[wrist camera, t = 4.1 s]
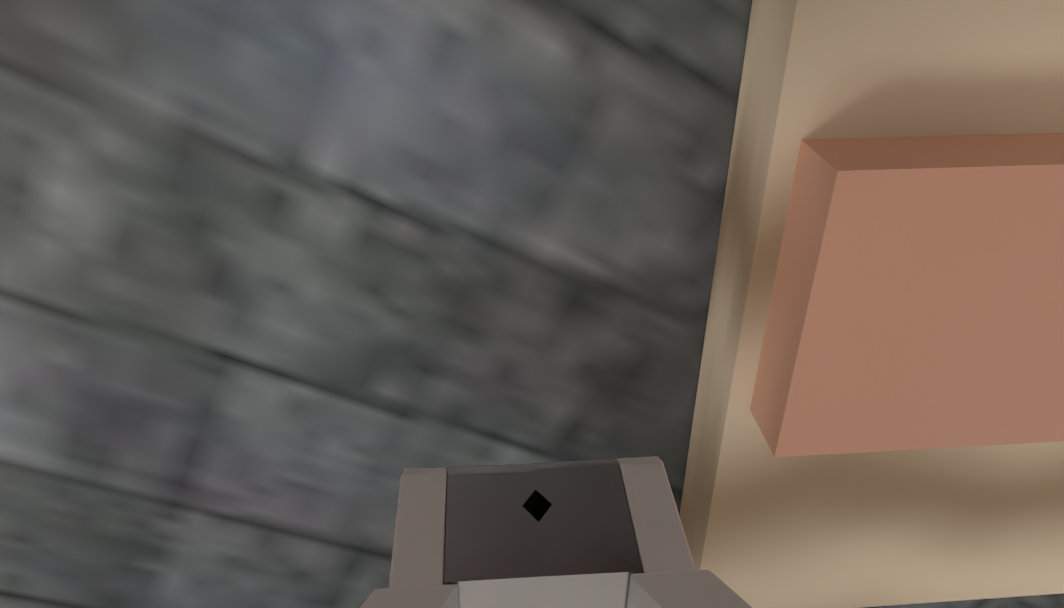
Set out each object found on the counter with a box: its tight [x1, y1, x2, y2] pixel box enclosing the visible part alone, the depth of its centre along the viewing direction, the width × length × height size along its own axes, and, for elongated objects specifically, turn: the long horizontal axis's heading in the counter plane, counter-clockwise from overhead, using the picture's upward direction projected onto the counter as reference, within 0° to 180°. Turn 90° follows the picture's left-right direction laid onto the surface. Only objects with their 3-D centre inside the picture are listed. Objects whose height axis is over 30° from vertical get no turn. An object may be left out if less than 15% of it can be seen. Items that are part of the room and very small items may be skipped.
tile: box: [750, 133, 1064, 457], centre depth 14 cm, size 6×9×2 cm, turn 90°
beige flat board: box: [679, 0, 1064, 608], centre depth 16 cm, size 20×12×2 cm, turn 0°
